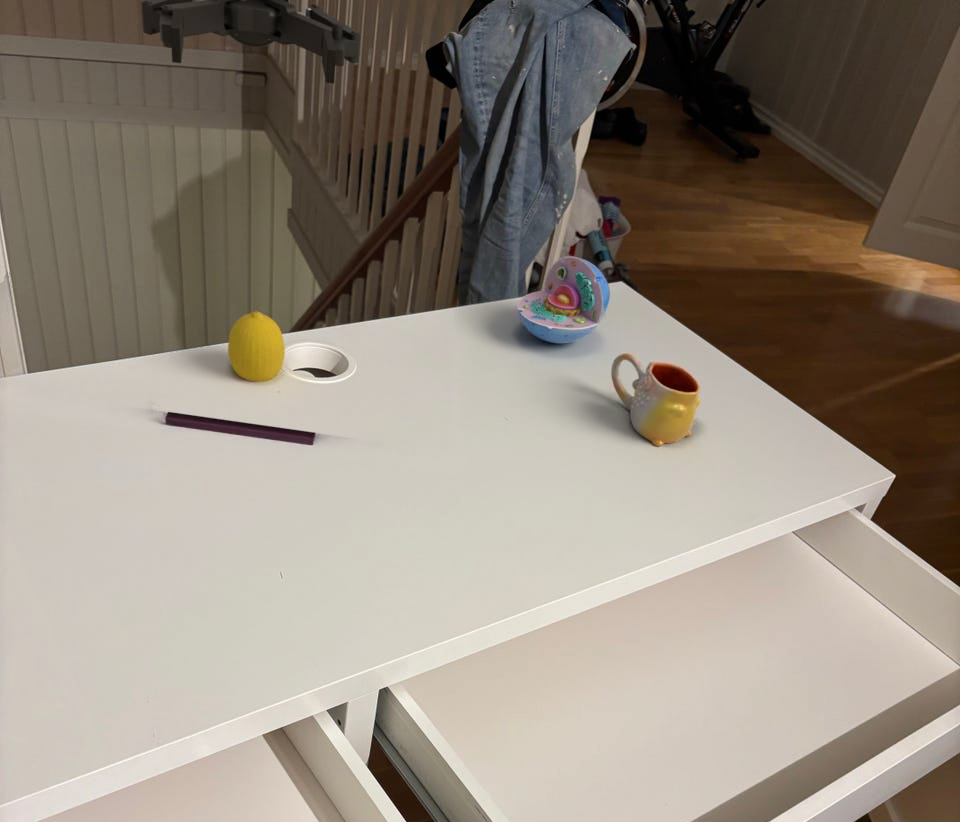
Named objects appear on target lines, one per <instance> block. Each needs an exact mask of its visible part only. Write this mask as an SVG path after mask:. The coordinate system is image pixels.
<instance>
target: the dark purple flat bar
mask: <svg viewBox="0 0 960 822" xmlns="http://www.w3.org/2000/svg"><path fill="white" fill-rule="evenodd" d="M164 419H165V425H167V426H174V427H181V428H189V429H195V430H202V431H211V432H217V433H223V434H231V435H239V436H244V437H245V436H246V437H252V438H260V439H267V440H275V441H281V442H288V443H296V444H303V445H308V446H309V445H311V446H313V445H314V442H315V438H316V432H314V431H307V430H302V429H301V430H300V429H292V428H286V427H279V426H273V425H266V424H259V423H258V424H257V423H250V422H244V421H236V420H231V419H230V420H229V419H224V418H223V419H222V418H217V417H216V418H215V417H207V416H202V415H195V414H187V413H181V412H173V411H168V412H167V413H166V414H165V418H164Z"/></svg>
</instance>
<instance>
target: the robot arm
mask: <svg viewBox="0 0 960 822" xmlns="http://www.w3.org/2000/svg"><path fill="white" fill-rule="evenodd" d="M140 6H141V8H140V9H141V19H142V20H141V25H142V33H144V34H147V35H150V36H152V35H154V34H155V35H156V34H159V37H160V38H159V39H160V41H161V42H162V46H163V47H164V48H169V49H171V63H174V64H175V63H176V64H182V58H183V51H184V38H187V37H193V36H199V35H205V34H210V33H212V34H215V35H217V36H220V37H226V36H230V37H231V38H232V39H233V40H235V41H236V42H238V43H239V44H242V45H243V46H247V47H250V48H251V47H252V48H261V47H262V48H263V47H266V46H269V45H270V44H273V43H274V42H275V43H278V44H280V45H282V46H287V45H288V46H289V45H295V46H297V47H299V48H302V49H304V50H305V51H309V52H311V53H313V54H315V55H317V56H320V57H321V66H322V71H323V75H324V79H325V83H326V84H327V83H328V84H335V79H336V76H335V75H336V67H344V66H345V61H347V62H349V63H351V64H358V63H359V62H360V60H359V59H360V50H361V49H360V48H361V35H362V34H361V32H359V31H358V30H355V29H353V28H352V27H351V26H349V25H347V24H346V23H344V22H342V21H340V20H338V19H337V18H335V17H334V16H332V15H330V14H328V13H327V12H325V11H324V9H323V8H322V7H321V6H319V5H318V4H309V7H306V8H305V12H301V11H297V9H296V7H295V5H294V4H292V3H290V0H141V1H140Z"/></svg>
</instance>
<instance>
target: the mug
mask: <svg viewBox="0 0 960 822" xmlns="http://www.w3.org/2000/svg"><path fill="white" fill-rule="evenodd" d="M623 361H627V362H629V363H630V364H632V366H633V367H634V369H635V371H636V372H637V375H638V378H636V379H634V380H633V381H632V383H631V386H632V389H633V390H634V392H633V395H631V394H630V393H629V391H627V389H626V388H625V387H624V385H623V383H622V380H621V376H620V367H621V364H622V363H623ZM610 368H611V370H610V375H611V376H610V378H611V382H612V385H613V387H614V390H615V393H616V394H617V396H618V397H619V399H620V400H621V402H622V403H623V404H624V406H625V407H626V408H627V409H628V410H629V411H630V421H631V425H632V427H633V429H634V430H635V432H637V433H638V434H639V435H641V436H642V437H644V438H646V439H647V440H648V441H650V442H651V443H652V444H653V445H654V446H655V447H656V446H657V447H662V446H663V445H664V444H672V443H676V442H679V441H680V440H682V439H683V438H684V437H690V436H691V435H692V431H691V430H692V428H693V425H694V422H695V418H696V415H697V410H698V407H699V405H700V403H701V399H700V397H699V394H700V391H701V386H700V384H699V383H698V381H697V379H696V378H695V377H694V375H692V374H691V373H690V372H688V371H687V370H686V369H684V368H683V367H681V366H679V365H676V364H672V363H668V362H655V361H650V362H649V363H648V365H647V367H646V368H645V370H644V367H643V365H642V363H641V361H640V360H639V359H638V358H637V357H636V356H635V355H633V354H631V353H628V352H627V353H621V354H619V355H618V356H617V357H616V358H614V360H613V362H612V364H611V367H610Z"/></svg>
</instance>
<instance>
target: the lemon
mask: <svg viewBox="0 0 960 822" xmlns="http://www.w3.org/2000/svg"><path fill="white" fill-rule="evenodd" d="M227 345H228V346H227V350H228V351H227V352H228V359H229V362H230V365H231V367H232V369H233V371H234V372H235V373H236V375H237V376H238V377H239V378H241V379H243V380H246V381H250V382H254V383H256V382H257V383H264V382H269V381H271V380H273V379H275V378H276V377H277V375H278V374H279V373H280V371H281V370H282V368H283V365H284V360H285V353H286V351H285V350H286V349H285V342H284V337H283V333H282V330H281V328H280V327H279V325H278V323H276V322H275V320H274V319H272V318H271V317H269V316H268V315H265V314H264V313H262V312H260V311H258V310H257V311H253V312H250V313H247V314H245V315H242V316H240V318H238V319H237V320H236V321H235V322H234V324H233V326H232V327H231V329H230V333H229V337H228V344H227Z"/></svg>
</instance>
